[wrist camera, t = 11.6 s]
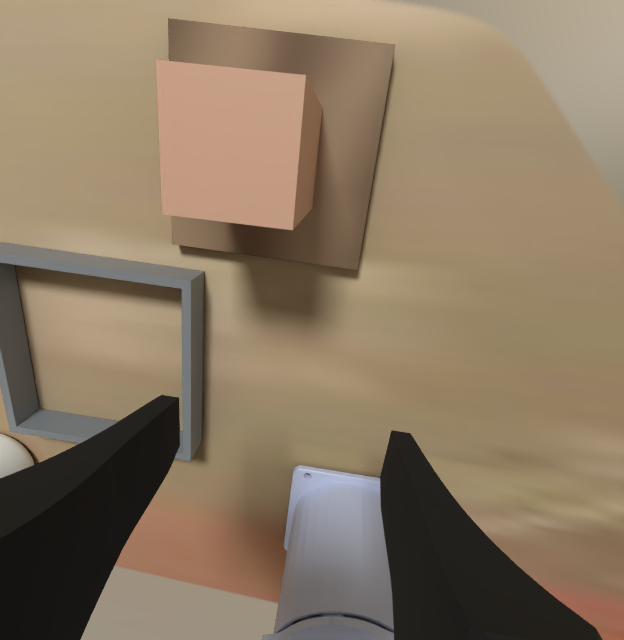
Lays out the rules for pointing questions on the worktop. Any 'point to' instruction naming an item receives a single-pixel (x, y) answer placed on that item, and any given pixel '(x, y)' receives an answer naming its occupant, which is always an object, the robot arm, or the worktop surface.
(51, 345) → the worktop surface
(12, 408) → the square frame
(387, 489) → the robot arm
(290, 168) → the block
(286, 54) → the board
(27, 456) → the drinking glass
